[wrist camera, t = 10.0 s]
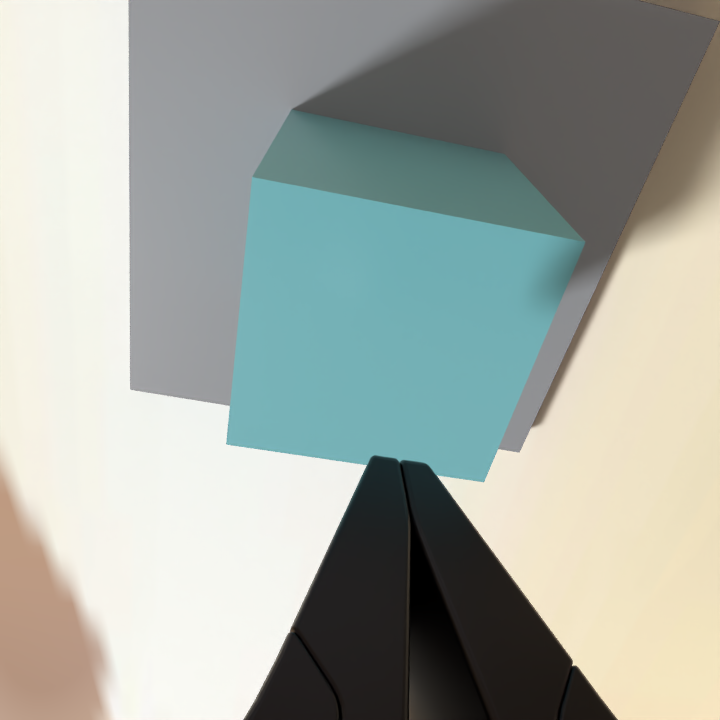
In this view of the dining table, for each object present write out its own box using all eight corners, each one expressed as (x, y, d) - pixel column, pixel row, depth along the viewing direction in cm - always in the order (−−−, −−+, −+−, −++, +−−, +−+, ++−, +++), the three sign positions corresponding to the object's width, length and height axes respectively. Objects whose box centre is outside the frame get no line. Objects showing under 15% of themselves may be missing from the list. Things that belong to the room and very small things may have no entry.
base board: (699, 19, 15) (719, 21, 14) (513, 435, 22) (519, 452, 21) (142, -124, 13) (127, -132, 12) (139, 373, 21) (130, 389, 20)
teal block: (504, 154, 16) (585, 242, 10) (446, 336, 19) (483, 482, 13) (291, 109, 15) (252, 177, 9) (267, 305, 18) (226, 444, 13)
